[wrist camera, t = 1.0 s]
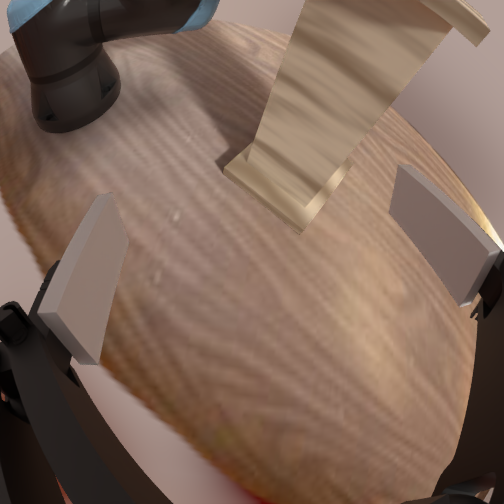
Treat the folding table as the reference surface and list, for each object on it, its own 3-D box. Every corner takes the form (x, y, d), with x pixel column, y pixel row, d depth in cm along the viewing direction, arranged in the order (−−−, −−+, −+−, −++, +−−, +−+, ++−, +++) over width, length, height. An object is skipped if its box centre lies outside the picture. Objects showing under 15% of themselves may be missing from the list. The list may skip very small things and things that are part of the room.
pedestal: (299, 234, 35) (490, 30, 7) (222, 173, 35) (293, -80, 7) (349, 168, 40) (480, 14, 12) (284, 119, 40) (368, -58, 12)
